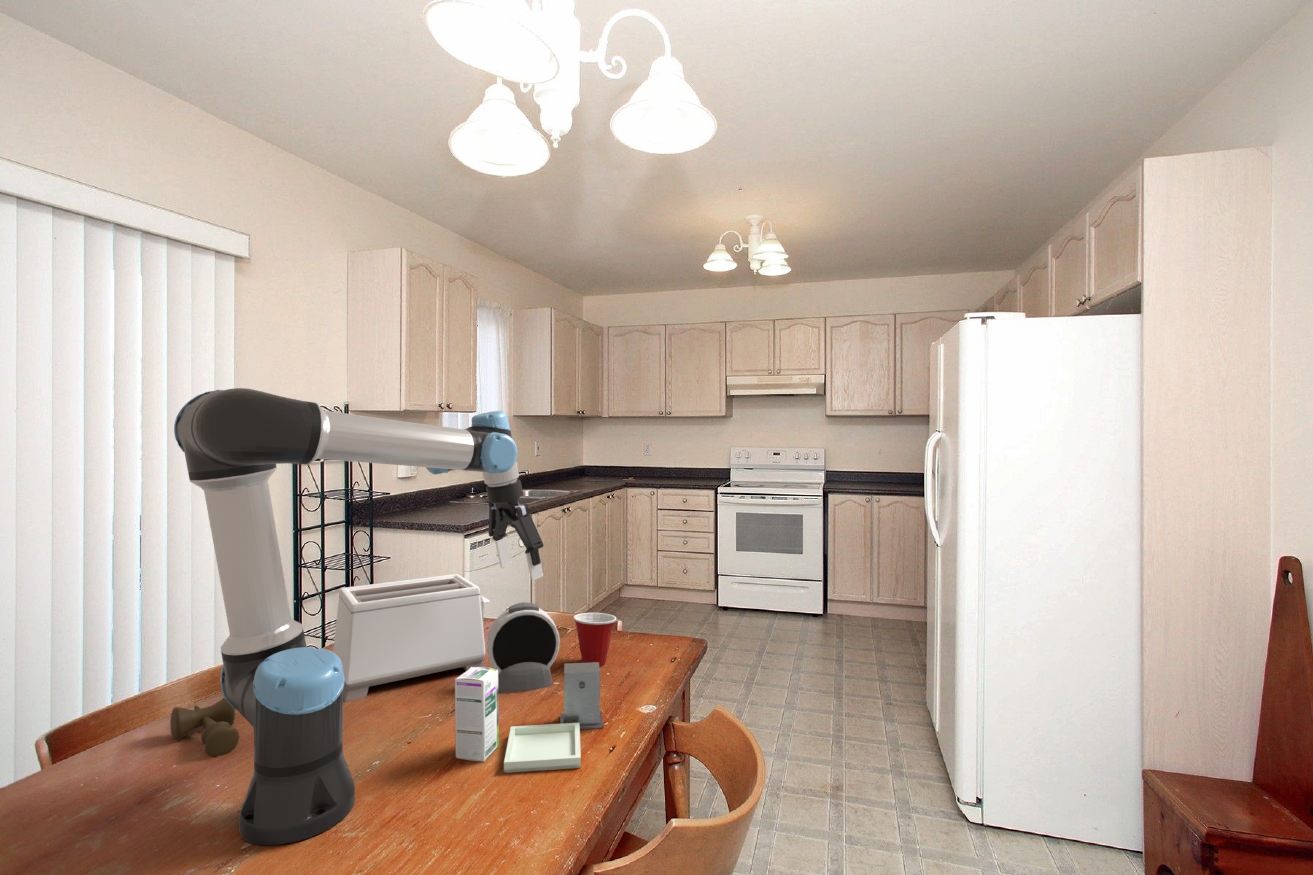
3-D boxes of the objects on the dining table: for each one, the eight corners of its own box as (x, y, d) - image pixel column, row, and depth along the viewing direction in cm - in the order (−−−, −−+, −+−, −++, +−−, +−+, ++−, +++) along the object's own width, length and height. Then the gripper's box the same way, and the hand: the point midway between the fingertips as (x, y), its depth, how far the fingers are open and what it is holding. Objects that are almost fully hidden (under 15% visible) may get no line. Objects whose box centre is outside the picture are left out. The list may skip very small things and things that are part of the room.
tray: (503, 772, 105) (503, 762, 105) (510, 735, 118) (510, 726, 118) (580, 767, 107) (580, 757, 107) (579, 731, 120) (579, 722, 120)
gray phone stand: (560, 730, 120) (560, 674, 120) (560, 716, 126) (560, 662, 126) (603, 727, 122) (603, 672, 122) (601, 714, 128) (602, 661, 127)
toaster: (499, 668, 152) (499, 585, 152) (344, 702, 132) (345, 606, 132) (473, 646, 167) (473, 570, 167) (331, 673, 148) (332, 587, 148)
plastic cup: (624, 661, 157) (625, 614, 157) (598, 674, 148) (599, 625, 148) (591, 652, 163) (591, 607, 163) (564, 665, 154) (564, 617, 154)
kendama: (189, 770, 106) (164, 728, 120) (253, 750, 114) (223, 713, 127) (191, 735, 106) (165, 698, 120) (255, 718, 113) (224, 684, 127)
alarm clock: (488, 695, 136) (489, 613, 136) (485, 678, 146) (486, 601, 145) (561, 686, 141) (562, 607, 141) (554, 670, 151) (554, 595, 151)
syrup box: (484, 762, 108) (485, 680, 108) (453, 758, 110) (454, 677, 110) (499, 746, 114) (499, 668, 114) (469, 742, 115) (470, 665, 115)
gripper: (547, 482, 129) (566, 576, 133) (491, 472, 147) (508, 555, 151) (516, 492, 124) (536, 590, 128) (462, 481, 142) (481, 567, 146)
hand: (521, 571), depth 139 cm, fingers open, 13 cm apart
